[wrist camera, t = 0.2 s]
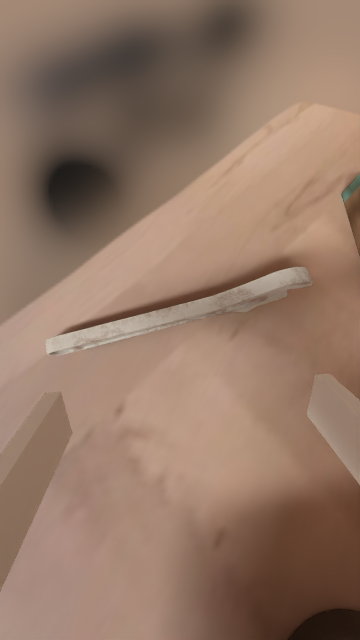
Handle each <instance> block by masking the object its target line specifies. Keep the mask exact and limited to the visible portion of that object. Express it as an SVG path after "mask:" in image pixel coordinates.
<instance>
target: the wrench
mask: <svg viewBox="0 0 360 640" xmlns="http://www.w3.org/2000/svg"><path fill="white" fill-rule="evenodd" d="M312 284H313V282H312V279H311V277H310V274H309V272H308V269H307V268H305V267H292V268H287V269H283V270H279V271H276V272H273V273H271V274H268V275H266V276H263V277H261V278H258V279H256V280H253V281H251V282H248V283H246V284H243V285H241V286H238V287H235V288H232V289H230V290H227V291H224V292H221V293H219V294H216V295H213V296H210V297H206V298H202V299H198V300H194V301H190V302H187V303H183V304H179V305H175V306H171V307H167V308H163V309H159V310H156V311H152V312H148V313H144V314H140V315H136V316H132V317H128V318H124V319H121V320H117V321H113V322H109V323H105V324H101V325H97V326H93V327H90V328H86V329H82V330H78V331H74V332H70V333H66V334H62V335H59V336H55V337H51V338H48V339H47V340H46V350H47V355H50V356H57V355H63V354H67V353H72V352H76V351H80V350H84V349H88V348H91V347H95V346H99V345H103V344H107V343H110V342H114V341H118V340H122V339H126V338H130V337H134V336H138V335H141V334H145V333H149V332H153V331H157V330H161V329H165V328H168V327H172V326H176V325H180V324H184V323H188V322H192V321H196V320H199V319H203V318H207V317H211V316H216V315H221V314H227V313H235V312H248V311H249V310H251V309H253V308H254V307H256V306H259V305H263V304H266V303H270V302H273V301H276V300H279V299H282V298H284V297H286V296H287V295H288V294H287V290H289V289H297V288H304V287H309V286H311V285H312Z"/></svg>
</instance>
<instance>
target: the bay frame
mask: <svg viewBox="0 0 360 640" xmlns="http://www.w3.org/2000/svg"><path fill="white" fill-rule="evenodd" d="M342 197H343V201H344V204H345V208H346V211H347V214H348V218H349V221H350V224H351V228H352V231H353V235H354V238H355V241H356V245H357V248H358V252H359V255H360V174H359V175H358V176H357V177H356V179H355V180H354V181H353V182H352V183H351V184H350V185H349V186H348V187H347V188H346V190H345V191H344V192H343V193H342Z"/></svg>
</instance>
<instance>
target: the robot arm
mask: <svg viewBox="0 0 360 640" xmlns="http://www.w3.org/2000/svg"><path fill="white" fill-rule="evenodd" d="M307 416H308V418H309V419H310V420H311V422H312V423H313V424H314V425H315V427H316V428H317V429H318V431H319V432H320V433H321V435H322V436H323V437H324V439H325V440H326V441H327V443H328V444H329V445H330V447H331V448H332V449H333V451H334V452H335V453H336V454H337V456H338V457H339V458H340V460H341V461H342V462H343V464H344V465H345V466H346V468H347V469H348V470H349V472H350V473H351V474H352V476H353V477H354V478H355V479H356V481H357V482H358V483H359V485H360V400H359V399H358V398H357V397H356V396H354V395H353V394H352V393H351V392H350V391H349V390H348V389H347V388H345V387H344V386H343V385H342V384H341V383H340V382H339V381H337V380H336V379H335V378H334V377H333V376H332V375H331V374H329V373H326V374H315V377H314V382H313V387H312V392H311V396H310V401H309V406H308V411H307ZM71 435H72V429H71V426H70V422H69V419H68V415H67V412H66V408H65V405H64V401H63V397H62V394H61V392H52V393H45V394H44V396H43V397H42V398H41V400H40V401H39V402H38V404H37V405H36V406H35V408H34V409H33V411H32V412H31V413H30V415H29V416H28V417H27V419H26V420H25V421H24V423H23V424H22V426H21V427H20V428H19V430H18V431H17V432H16V434H15V435H14V436H13V438H12V439H11V441H10V442H9V443H8V445H7V446H6V447H5V449H4V450H3V452H2V453H1V454H0V591H1V589H2V586H3V584H4V582H5V580H6V578H7V576H8V573H9V571H10V569H11V567H12V565H13V562H14V560H15V558H16V556H17V554H18V551H19V549H20V547H21V545H22V543H23V540H24V538H25V536H26V534H27V532H28V529H29V527H30V525H31V523H32V521H33V518H34V516H35V514H36V512H37V510H38V507H39V505H40V503H41V501H42V499H43V496H44V494H45V492H46V490H47V488H48V486H49V483H50V481H51V479H52V477H53V475H54V472H55V470H56V468H57V466H58V464H59V461H60V459H61V457H62V455H63V453H64V450H65V448H66V446H67V444H68V442H69V439H70V437H71ZM289 640H360V612H356V611H351V610H333V611H328V612H324V613H321V614H319V615H317V616H315V617H313V618H311V619H309V620H308V621H307V622H305V623H304V624H303V625H302V626H301V627H299V628H298V629H297V631H296V632H295V633H294V634H293V635H292V637H291V638H290V639H289Z"/></svg>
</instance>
